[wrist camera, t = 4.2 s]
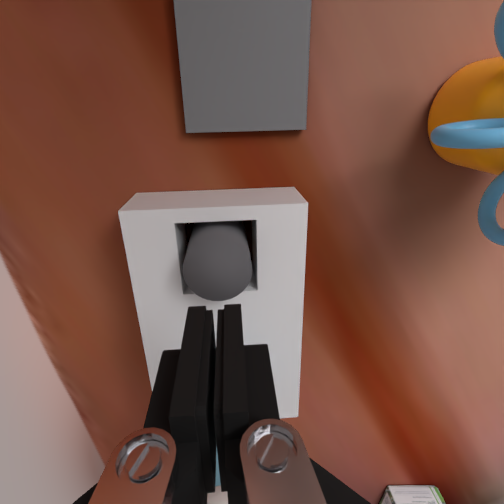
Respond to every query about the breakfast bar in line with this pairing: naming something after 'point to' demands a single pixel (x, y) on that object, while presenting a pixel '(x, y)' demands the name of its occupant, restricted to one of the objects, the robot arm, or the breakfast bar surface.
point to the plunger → (218, 260)
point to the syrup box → (412, 495)
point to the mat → (243, 64)
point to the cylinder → (475, 126)
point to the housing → (251, 299)
